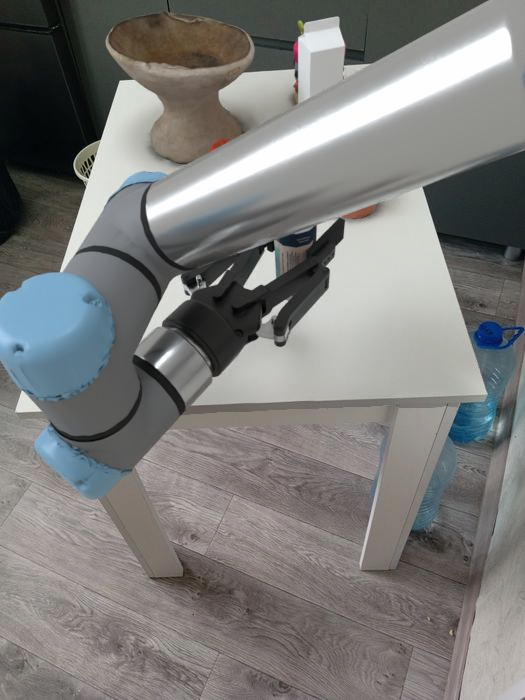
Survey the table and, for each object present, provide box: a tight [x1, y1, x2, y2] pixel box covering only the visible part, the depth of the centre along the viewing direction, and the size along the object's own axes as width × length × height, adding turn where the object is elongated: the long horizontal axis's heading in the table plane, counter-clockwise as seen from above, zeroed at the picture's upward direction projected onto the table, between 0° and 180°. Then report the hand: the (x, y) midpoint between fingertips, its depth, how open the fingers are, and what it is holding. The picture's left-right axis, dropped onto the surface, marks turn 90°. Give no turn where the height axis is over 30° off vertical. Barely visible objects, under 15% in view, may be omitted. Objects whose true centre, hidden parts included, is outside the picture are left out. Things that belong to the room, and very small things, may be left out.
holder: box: [340, 203, 378, 220], centre depth 86 cm, size 8×8×4 cm
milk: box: [297, 16, 346, 104], centre depth 89 cm, size 6×6×22 cm
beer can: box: [274, 225, 318, 302], centre depth 58 cm, size 5×5×12 cm
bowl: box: [105, 10, 256, 164], centre depth 94 cm, size 26×25×20 cm
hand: (321, 219), depth 59 cm, fingers closed on beer can, 5 cm apart
